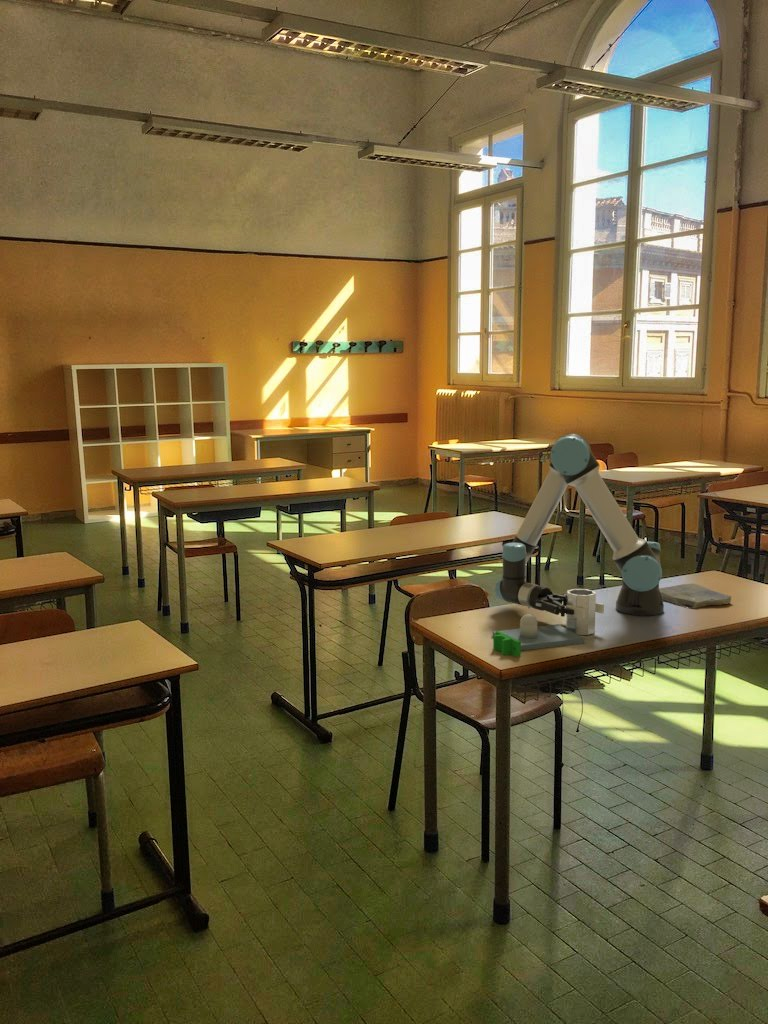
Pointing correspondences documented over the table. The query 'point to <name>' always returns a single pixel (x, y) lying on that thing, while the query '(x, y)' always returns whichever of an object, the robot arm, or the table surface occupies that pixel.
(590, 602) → the sleeve
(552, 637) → the base
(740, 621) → the table surface
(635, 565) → the robot arm
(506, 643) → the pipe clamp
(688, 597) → the fossil
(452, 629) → the table surface
